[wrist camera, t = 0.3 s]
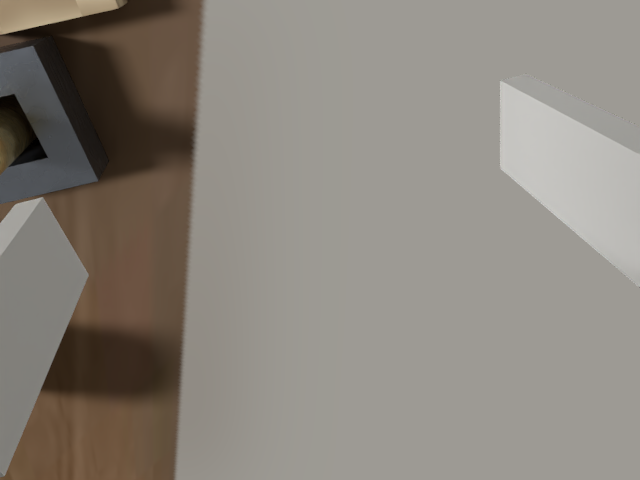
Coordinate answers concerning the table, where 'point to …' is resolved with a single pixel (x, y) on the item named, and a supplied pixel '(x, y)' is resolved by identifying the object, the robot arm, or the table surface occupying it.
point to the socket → (48, 123)
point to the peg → (13, 131)
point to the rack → (48, 12)
